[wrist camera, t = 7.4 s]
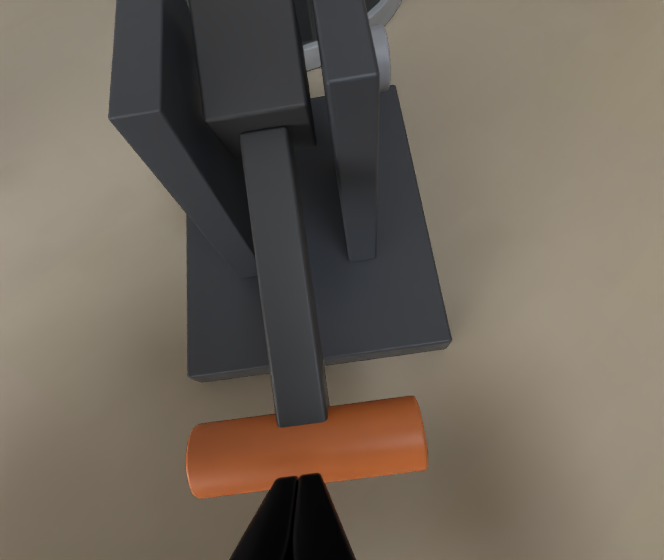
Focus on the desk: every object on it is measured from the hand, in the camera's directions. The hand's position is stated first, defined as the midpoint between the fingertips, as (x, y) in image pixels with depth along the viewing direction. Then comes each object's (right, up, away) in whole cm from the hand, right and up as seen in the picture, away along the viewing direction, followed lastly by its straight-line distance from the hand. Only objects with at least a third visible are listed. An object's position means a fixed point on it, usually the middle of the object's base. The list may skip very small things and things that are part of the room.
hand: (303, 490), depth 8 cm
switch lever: (-1, +5, +3) cm, 6 cm away
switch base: (0, +6, +10) cm, 11 cm away
